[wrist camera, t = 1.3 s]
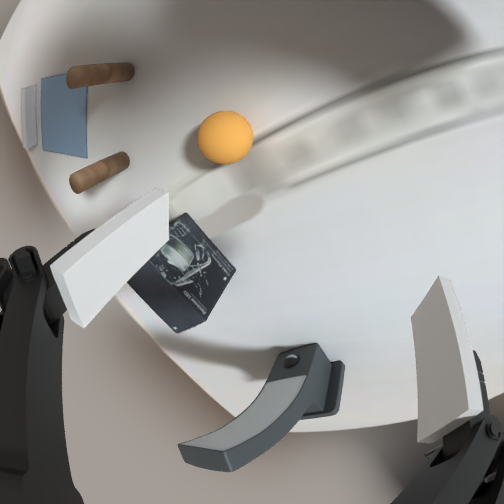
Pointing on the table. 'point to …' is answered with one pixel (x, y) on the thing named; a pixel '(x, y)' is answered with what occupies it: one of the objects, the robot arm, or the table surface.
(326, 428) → the table surface
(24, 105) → the wall
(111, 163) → the post
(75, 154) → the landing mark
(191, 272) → the box
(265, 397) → the grey curved piece
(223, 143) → the ball
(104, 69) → the post
